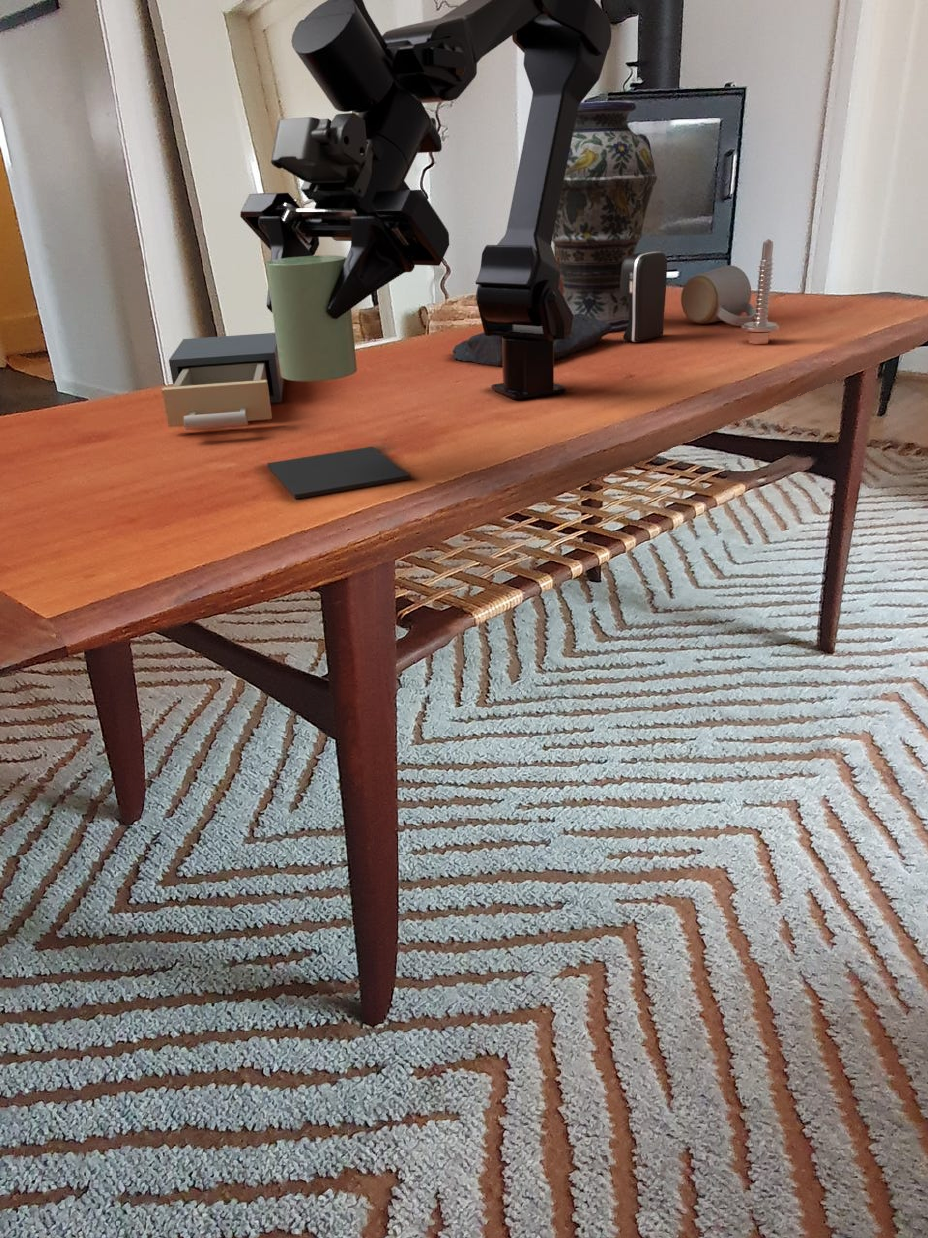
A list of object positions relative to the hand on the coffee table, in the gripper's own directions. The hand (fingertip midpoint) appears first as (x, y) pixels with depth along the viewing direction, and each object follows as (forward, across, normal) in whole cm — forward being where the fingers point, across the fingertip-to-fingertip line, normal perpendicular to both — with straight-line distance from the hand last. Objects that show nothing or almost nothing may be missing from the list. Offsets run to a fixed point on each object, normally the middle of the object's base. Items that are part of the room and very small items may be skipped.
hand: (300, 313), depth 76 cm
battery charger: (-39, -3, +58) cm, 70 cm away
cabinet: (-4, -32, +23) cm, 39 cm away
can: (+3, 0, +4) cm, 5 cm away
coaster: (+9, +1, +10) cm, 14 cm away
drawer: (+3, -22, +15) cm, 27 cm away
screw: (-41, +13, +61) cm, 74 cm away
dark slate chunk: (-29, -12, +49) cm, 58 cm away
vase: (-43, -14, +63) cm, 78 cm away
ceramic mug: (-50, +2, +70) cm, 86 cm away
